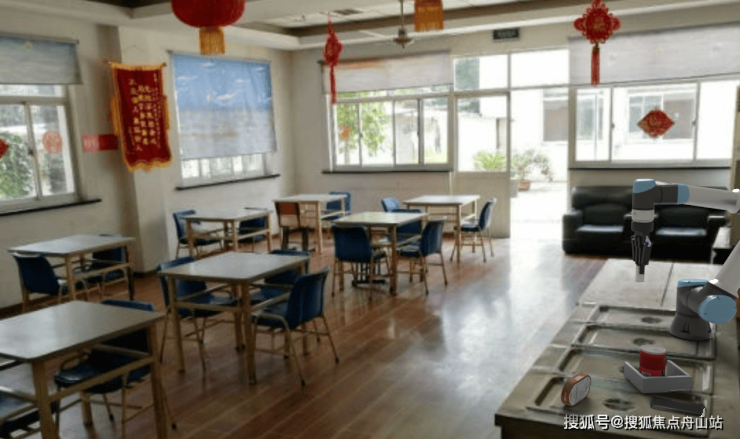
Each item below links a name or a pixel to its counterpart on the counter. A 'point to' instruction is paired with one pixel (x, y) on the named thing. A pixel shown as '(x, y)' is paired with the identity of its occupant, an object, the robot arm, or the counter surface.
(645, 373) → the canned food
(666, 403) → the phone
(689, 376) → the box
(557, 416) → the counter surface
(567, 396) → the tin
